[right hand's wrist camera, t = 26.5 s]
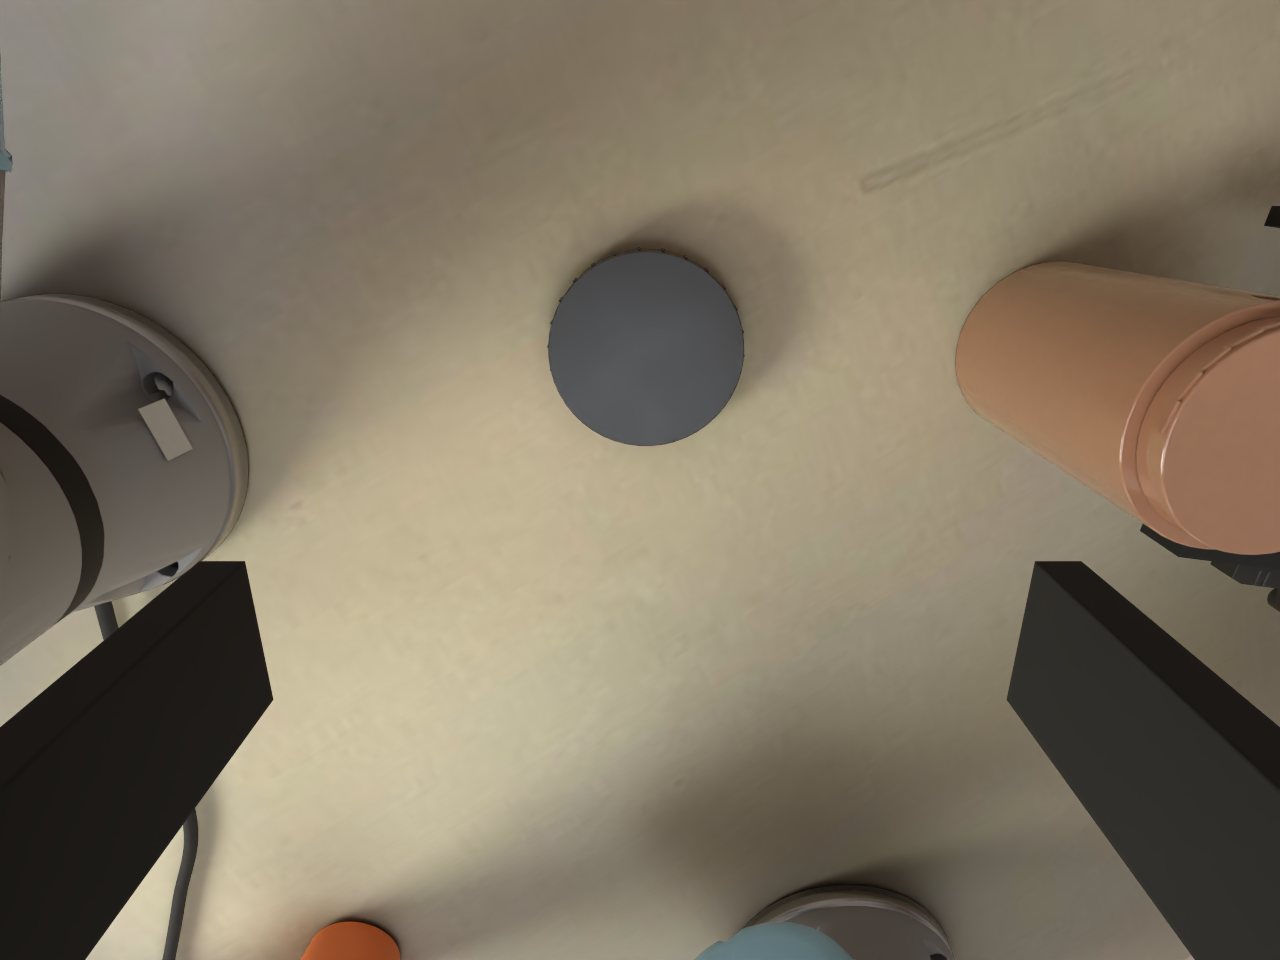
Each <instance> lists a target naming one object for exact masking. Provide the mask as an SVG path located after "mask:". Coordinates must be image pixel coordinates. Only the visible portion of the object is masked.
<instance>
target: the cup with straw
mask: <svg viewBox="0 0 1280 960" xmlns="http://www.w3.org/2000/svg"><path fill="white" fill-rule="evenodd" d="M301 960H400V952H399V949H398V947H397V945H396V943H395V942H394V940H393V939H392V938H391V937H390V936H389V935H388V934H386V933H385V932H384V931H382V930H380V929H378V928H376V927H374V926H372V925H369V924H365V923H360V922H339V923H335V924H332V925H329V926H327V927H325V928H323V929H322V930H320V931H319V932H318V933H317V934H316V935H315V936H314V937H313V939H312V940H311V942H310V944H309V946H308V947H307V949H306V951H305V953H304V954H303V956H302V958H301Z"/></svg>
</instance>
